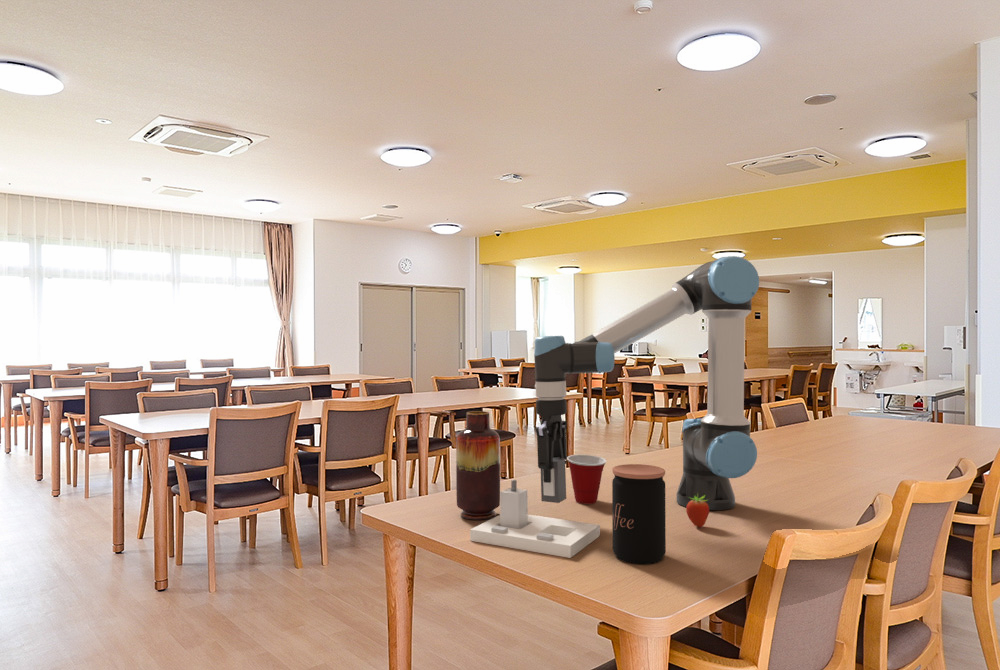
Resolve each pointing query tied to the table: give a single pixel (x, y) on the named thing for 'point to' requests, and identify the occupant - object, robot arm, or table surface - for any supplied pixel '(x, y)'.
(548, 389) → the robot arm
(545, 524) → the white peg board
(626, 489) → the coffee jar
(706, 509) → the fruit
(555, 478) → the dark grey block
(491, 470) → the vase
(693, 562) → the table surface
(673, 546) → the table surface
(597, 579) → the table surface
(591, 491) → the plastic cup
